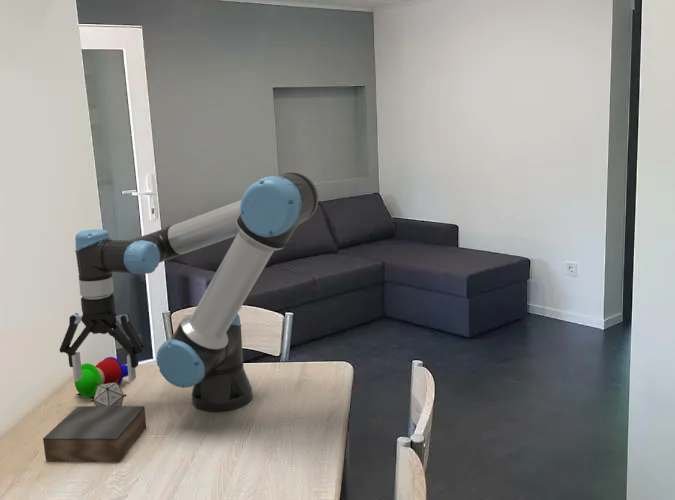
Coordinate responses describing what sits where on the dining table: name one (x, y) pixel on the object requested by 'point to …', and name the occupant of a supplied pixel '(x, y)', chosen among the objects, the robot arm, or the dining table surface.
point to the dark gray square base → (95, 434)
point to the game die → (108, 395)
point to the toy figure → (99, 376)
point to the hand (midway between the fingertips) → (105, 379)
